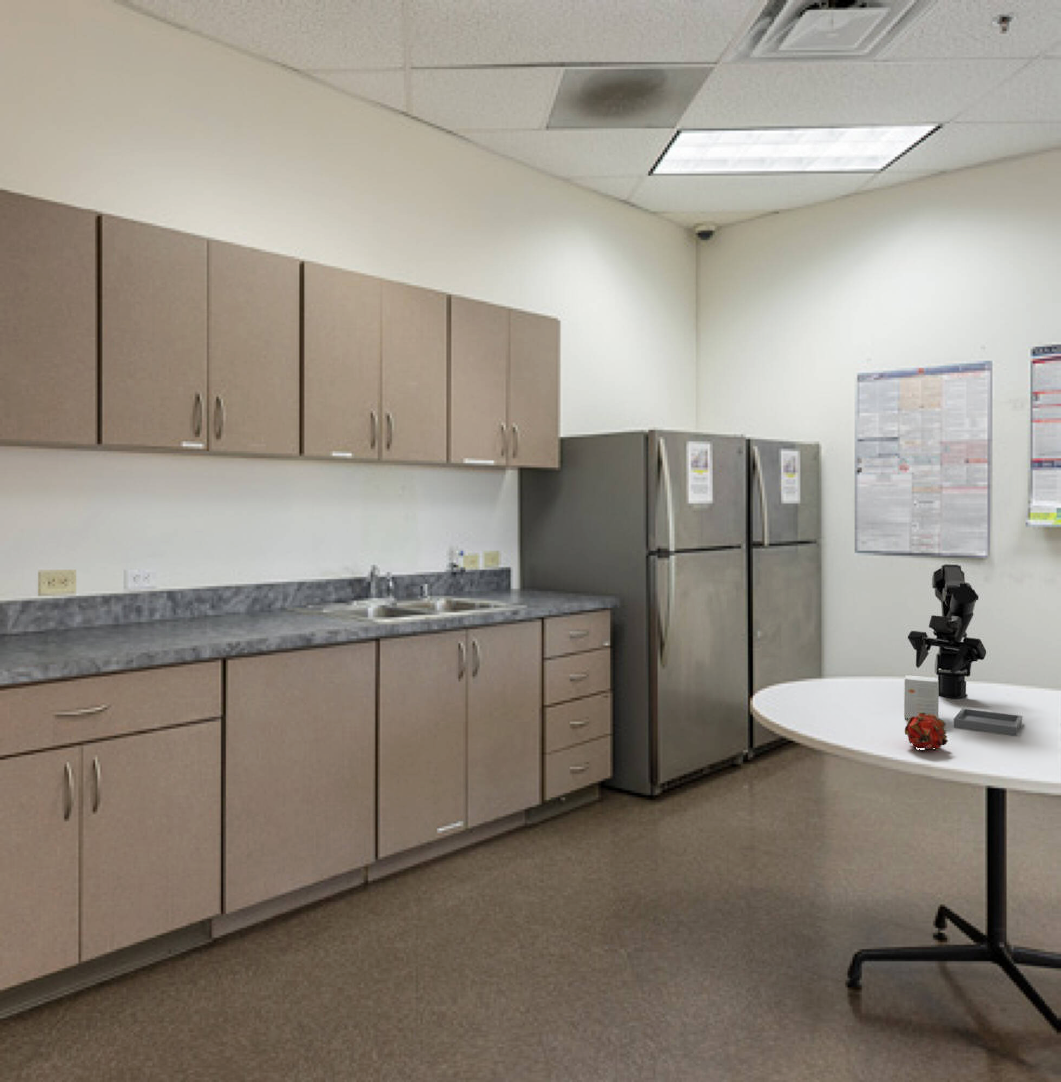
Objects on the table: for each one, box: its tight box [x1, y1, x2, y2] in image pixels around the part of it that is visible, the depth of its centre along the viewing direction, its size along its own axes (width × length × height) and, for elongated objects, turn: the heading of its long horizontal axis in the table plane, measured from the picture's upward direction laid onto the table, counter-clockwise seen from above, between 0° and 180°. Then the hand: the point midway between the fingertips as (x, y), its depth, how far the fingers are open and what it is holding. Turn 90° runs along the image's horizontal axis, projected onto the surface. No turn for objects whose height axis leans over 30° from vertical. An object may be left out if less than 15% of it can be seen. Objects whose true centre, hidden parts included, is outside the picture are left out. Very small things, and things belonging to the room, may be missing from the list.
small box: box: [903, 675, 940, 720], centre depth 219 cm, size 8×6×10 cm
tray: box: [953, 707, 1023, 736], centre depth 213 cm, size 14×14×2 cm
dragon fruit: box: [904, 713, 949, 750], centre depth 193 cm, size 8×8×12 cm
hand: (934, 669), depth 223 cm, fingers open, 9 cm apart
